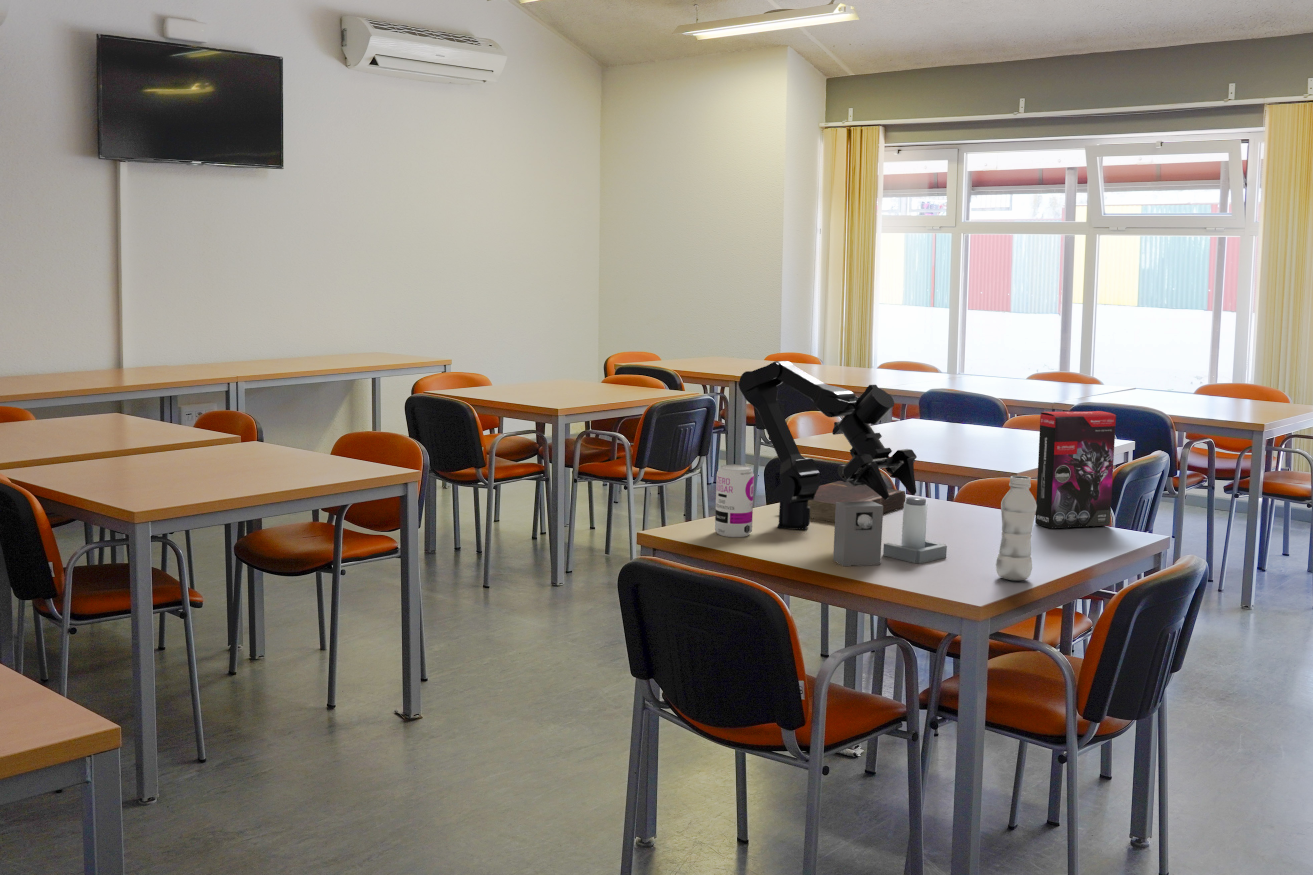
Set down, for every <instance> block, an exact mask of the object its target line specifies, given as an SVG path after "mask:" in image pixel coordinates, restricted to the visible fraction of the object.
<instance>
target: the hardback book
mask: <svg viewBox="0 0 1313 875" xmlns="http://www.w3.org/2000/svg"><path fill="white" fill-rule="evenodd" d="M886 488H887V491H888V494H889V498H888V499H886V500H885V499H884V498H882V497H881V496H880V495H879V494H877V493H876V492H875V491H874V490H873V489H871V488H870V487H868V486H867V485H866V484H865V485H858V486H853V485H852V484H851V483H849V482H843V480H837V481H833V482H831V483H826V484H822V485H821V484H820V485H819V488H818V490H817V491H816V494H815V497H814V500H808V506H810V519H813V518H814V520H819V519H820V520H821V521H825V520H826V522H827V521H828V522H831V521H833V522H832V523H835V510H836V502H858V501H873V502H875V503H878V504H880V505H882V506H883V515H885V514H888V513H891V512H890V511H892V512H894V511H893V510H895V511H897V510H896V509H898V510H900V509H899V508H901V509H903V508H902V507H904V502H906V498H907V497H906V496H907V495H906V491H905V490H899V489H894V488H888V487H886ZM887 512H888V513H887ZM884 513H885V514H884Z"/></svg>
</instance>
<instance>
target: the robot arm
mask: <svg viewBox="0 0 1313 875" xmlns="http://www.w3.org/2000/svg"><path fill="white" fill-rule="evenodd" d="M739 378H740V379H739V380H738V388H739V391H740V393H741V394H742V395H743V397H744V399H745V401H746V402H747V403H749V404H750V405H751V406H752V407H753V408H755V409H756V410H757V412H758V415H759V418H760V419H761V422H762V424H763V426H764V429H765V431H766V433H767V435H768V437H769V439H770V442H771V444H772V446H773V449H774V450H775V453H776V455H777V457H778V459H779V462H780V466H779V467H780V469H779V478H780V483H779V484H778V485H777V486H776V487H775V488H774V489H773V490H772V495H773V500H774V501H775V502H779V507H778V508H779V509H778V510H779V511H778V524H777V528H779V529H790V530H792V529H793V530H805V531H806V530H807V529H808V527H809V526H810V524H811V518H810V506H808V500H814V497H815V494H816V491H817V490H818V488H819V486H820V485H821V478H820V476H819V475H821V472H820V471H819V470H818V468H817V466H816V463H815V460H814V459H813V458H805V457H804V456H803V455H802V454H801V452H800V450H799V447H798V446H797V443H796V442H795V439H794V437H793V435H792V431H790V428H789V425H788V424H787V422H786V419H785V417H784V415H783V412H782V410H781V409H780V405H779V404H778V392H779V389H778V386H780V385H782V384H783V383H784V385H786V386H789V387H790V388H792V389H793V390H795V391H797V392H798V393H800V394H802V395H803V396H805V397H807V398H808V399H810V400H811V401H812V402H813V403H814V405H815V407H816V409H818V411H820V412H821V413H822V414H823V415H824V416H826V417H827V418H839V417H843V418H841V420H840V421H834V423H833V429H832V435H833V436H835V435H843V436H844V437H845V439H846V440H847V442H848V443H849V445H850V446H851V448H850V449H849V454H850V455H851V458H850V460H849V461H848V462H847V463H846V464H842V465H839V466H838V467H837V470H836V471H837V474H838V475H839V478H840V479H842V481H843V482H849V483H851V484H852V485H853V486H858V485H867V486H868V487H870V488H871V489H873V490H874V491H875V492H876V493H877V494H879V495H880V496H881V497H882V498H884V499H885V500H886V499H888V498H889V494H888V491H887V488H888V487H887V486H886V482H885V481H884V478H883V476H882V474H881V470H880V469H885V470H886V471H887V473H889V474H890V477H891V478H895V479H898V480H899V482H900V483H901V484H902V485H903V487H905V489H906V490H907V491H908V492H909V494H911V496H915V495H916V494H917V486H916V478H915V469H914V466H915V464H914V463H915V462H916V459H917V455H916V453H915V452H914V450H913V449H909V448H905V449H904V448H903V449H898V450H896V451H895V452H894V453H893V454H892V455H891V453H892V452H893V450H892V448H890V447H885V446H884V444H883V442H882V441H881V440H880V439H881V438H882V437H883V435H882V434H881V433H880V432H875V431H874V429H872V427H871V425H877V424H879V422H880V421H881V420H882V419H883V418H884V417H885V416H886V415H887V413H889V412H890V411H891V409H892V408H894V406H895V401H894V398H893V397H892V395H891V394H889V393H888V392H886V391H885V390H884V389H882V388H880V387H878V385H877V384H869V385H868V386H867V387H866V388H865V389H864V392H863V393H861V395H860V396H859V397H858V396H856V394H855V393H854V392H853V391H851V390H850V389H847V388H844V387H841V386H835V385H830V384H827V383H825V382H823V381H821V380H820V379H818V378H816V377H814V376H813V375H811V374H809V373H807V372H805V370H802V369H801V368H799V367H797V366H795V365H794V364H793V363H792V362H791V361H789V360H779V361H778V360H777V361H776V360H775V361H773V362H770V364H767V365H764V366H763V367H760V368H757V369H754V370H749V371H747V370H746V371H744V372H743V373H742V374H741V375H740V377H739ZM889 455H891V456H889Z"/></svg>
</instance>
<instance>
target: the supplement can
mask: <svg viewBox="0 0 1313 875" xmlns="http://www.w3.org/2000/svg"><path fill="white" fill-rule="evenodd" d="M715 480H716V481H715V482H716V484H715V485H716V486H715V487H716V488H715V509H714V511H715V514H714V531H715V532H716V533H717V535H719V536H722V537H727V538H744V537H748V536H749V535H750V534H751V533H752V532H753V514H754V512H753V511H754V507H753V506H754V486H755V484H754V482H755V475H754V471H753V470H752V467H751V466H749V465H742V464H723V465H719V469H718V470H717V472H716V479H715Z"/></svg>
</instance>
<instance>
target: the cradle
mask: <svg viewBox="0 0 1313 875" xmlns="http://www.w3.org/2000/svg"><path fill="white" fill-rule="evenodd" d="M882 549H883V550H882V552H883V553H882V555H883V556H885V557H889V558H891V559H897V560H900V561H904V562H908V563H913V564H924V563H928V562H933V561H937V560H942V559H945V558H947V550H948V546H947V545H946V543H941V542H936V541H932V540H927V539H925V548H921V549H913V548H909V547H904V546H901V544H900V545H899V544H895V543H891V542H885V543H883V548H882Z"/></svg>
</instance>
